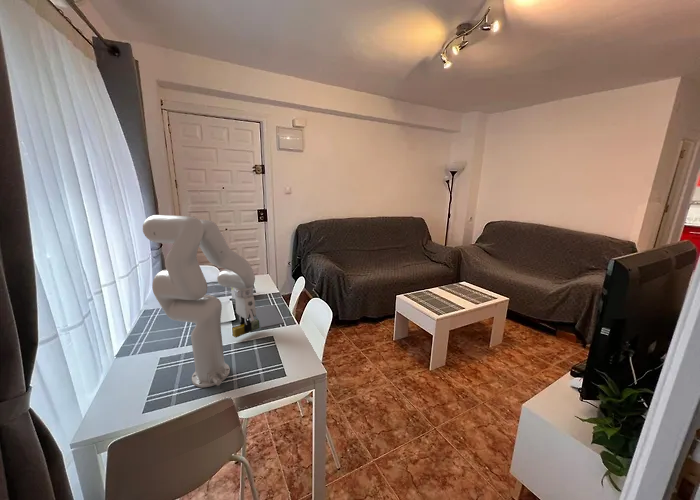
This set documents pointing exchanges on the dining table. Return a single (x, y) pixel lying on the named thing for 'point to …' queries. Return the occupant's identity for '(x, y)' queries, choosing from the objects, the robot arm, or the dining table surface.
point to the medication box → (240, 329)
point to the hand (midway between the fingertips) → (246, 330)
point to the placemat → (268, 316)
